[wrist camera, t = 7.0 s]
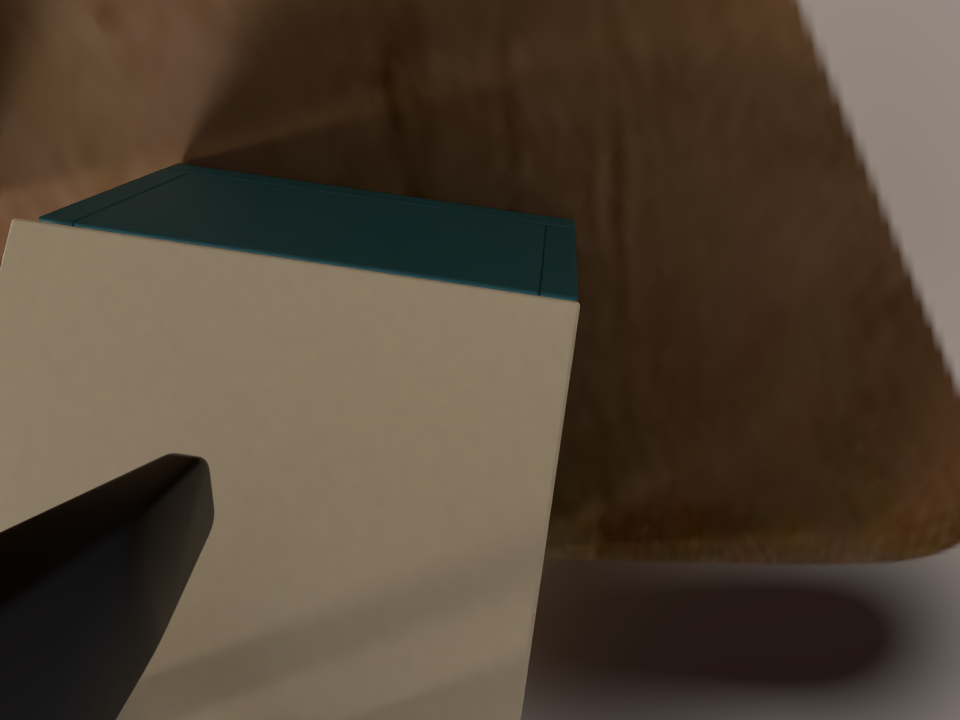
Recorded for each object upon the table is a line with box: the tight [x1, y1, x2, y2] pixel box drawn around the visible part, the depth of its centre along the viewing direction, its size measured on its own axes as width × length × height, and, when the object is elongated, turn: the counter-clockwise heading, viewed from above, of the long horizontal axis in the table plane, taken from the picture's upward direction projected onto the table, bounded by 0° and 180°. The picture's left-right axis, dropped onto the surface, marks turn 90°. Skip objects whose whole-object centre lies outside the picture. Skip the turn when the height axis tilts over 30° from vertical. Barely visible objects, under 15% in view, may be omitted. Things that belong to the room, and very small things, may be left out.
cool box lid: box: [0, 218, 580, 720], centre depth 11 cm, size 13×12×4 cm
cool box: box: [39, 163, 578, 302], centre depth 19 cm, size 13×12×6 cm
